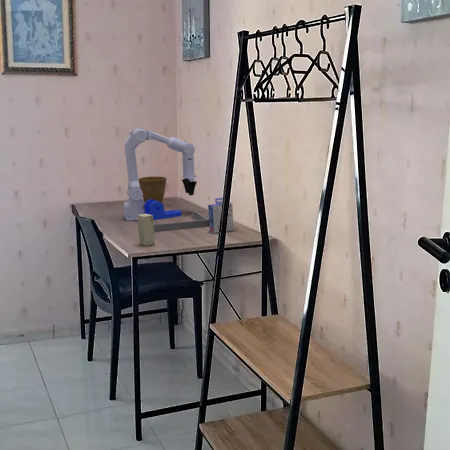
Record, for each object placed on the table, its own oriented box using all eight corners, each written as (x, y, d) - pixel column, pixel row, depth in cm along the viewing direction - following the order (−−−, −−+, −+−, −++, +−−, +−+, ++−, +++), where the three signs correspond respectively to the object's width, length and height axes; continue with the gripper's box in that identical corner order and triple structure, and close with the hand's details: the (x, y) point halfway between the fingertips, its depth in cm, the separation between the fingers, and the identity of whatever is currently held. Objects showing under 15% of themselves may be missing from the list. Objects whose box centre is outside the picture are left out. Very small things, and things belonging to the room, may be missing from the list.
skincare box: (155, 244, 256) (153, 215, 253) (145, 246, 254) (143, 216, 251) (148, 241, 261) (146, 213, 259) (138, 243, 259) (137, 214, 256)
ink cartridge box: (228, 228, 282) (227, 196, 279) (234, 230, 277) (233, 198, 274) (208, 231, 277) (207, 199, 274) (214, 233, 272) (213, 200, 269)
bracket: (151, 220, 306) (150, 202, 304) (144, 218, 313) (143, 200, 311) (184, 215, 314) (183, 198, 313) (177, 213, 321) (176, 196, 320)
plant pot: (136, 210, 333) (134, 180, 330) (145, 205, 347) (143, 176, 344) (162, 210, 330) (161, 180, 327) (171, 205, 344) (169, 176, 341)
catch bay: (148, 232, 279) (148, 225, 279) (138, 221, 303) (138, 215, 302) (210, 226, 287) (209, 219, 287) (195, 216, 311) (195, 210, 310)
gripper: (199, 168, 308) (200, 195, 311) (193, 165, 322) (194, 191, 324) (185, 169, 306) (186, 196, 309) (179, 166, 320) (180, 192, 323)
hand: (189, 194), depth 316 cm, fingers open, 7 cm apart
